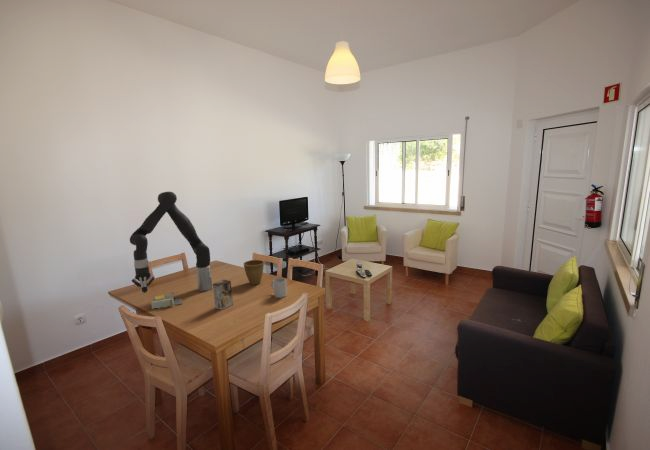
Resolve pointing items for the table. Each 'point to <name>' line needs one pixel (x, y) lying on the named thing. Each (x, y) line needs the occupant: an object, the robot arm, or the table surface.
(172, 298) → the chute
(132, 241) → the robot arm
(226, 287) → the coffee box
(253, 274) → the plant pot
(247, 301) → the table surface
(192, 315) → the table surface
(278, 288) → the mug
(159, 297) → the block
